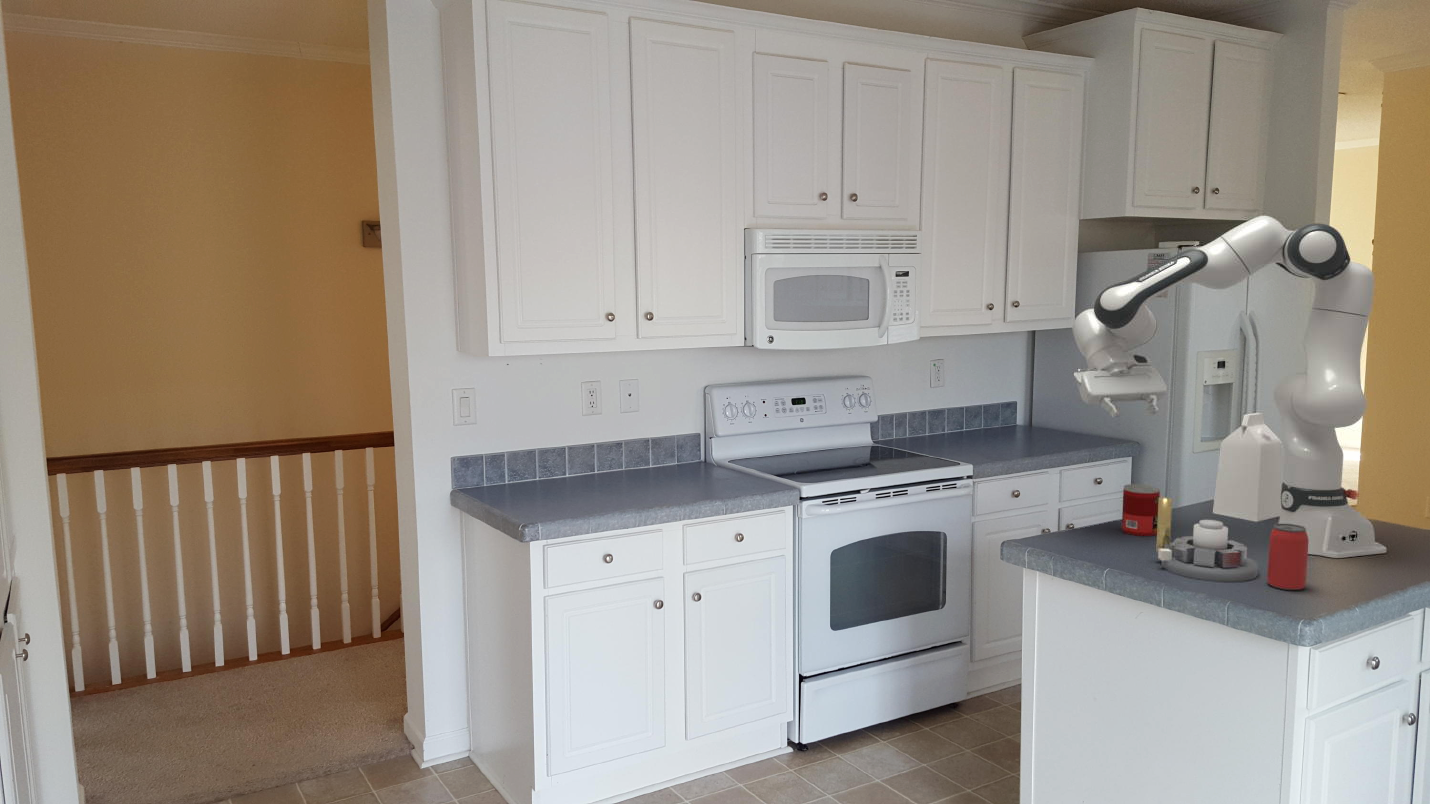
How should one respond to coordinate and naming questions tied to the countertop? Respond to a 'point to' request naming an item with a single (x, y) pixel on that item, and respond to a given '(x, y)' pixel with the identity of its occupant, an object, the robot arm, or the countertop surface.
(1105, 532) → the countertop surface
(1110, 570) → the countertop surface
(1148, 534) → the canned food
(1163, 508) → the gear with peg
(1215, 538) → the flange base
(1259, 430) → the milk
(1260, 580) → the countertop surface
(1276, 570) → the beer can
